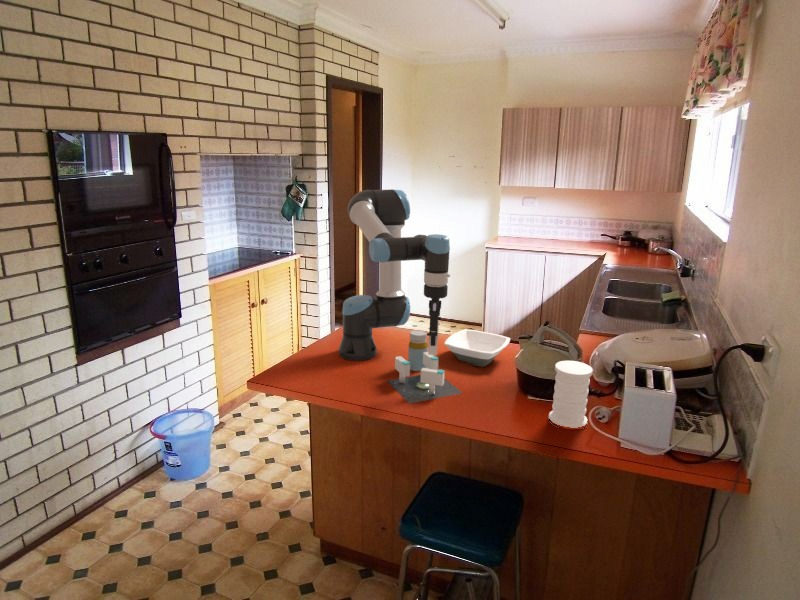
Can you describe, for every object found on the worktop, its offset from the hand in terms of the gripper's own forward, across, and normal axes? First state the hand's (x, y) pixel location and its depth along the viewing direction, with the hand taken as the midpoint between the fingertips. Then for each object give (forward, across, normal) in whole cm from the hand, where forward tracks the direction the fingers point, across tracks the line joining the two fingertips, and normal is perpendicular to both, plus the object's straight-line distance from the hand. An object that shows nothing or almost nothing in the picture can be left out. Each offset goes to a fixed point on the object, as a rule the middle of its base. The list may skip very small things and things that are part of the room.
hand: (433, 346), depth 182 cm
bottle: (+18, +22, +6) cm, 29 cm away
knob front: (+17, 0, 0) cm, 17 cm away
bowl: (+18, +34, -16) cm, 42 cm away
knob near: (+17, +7, +11) cm, 21 cm away
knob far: (+17, +13, +1) cm, 21 cm away
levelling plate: (+18, +5, +3) cm, 19 cm away
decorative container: (+18, -11, -43) cm, 48 cm away
